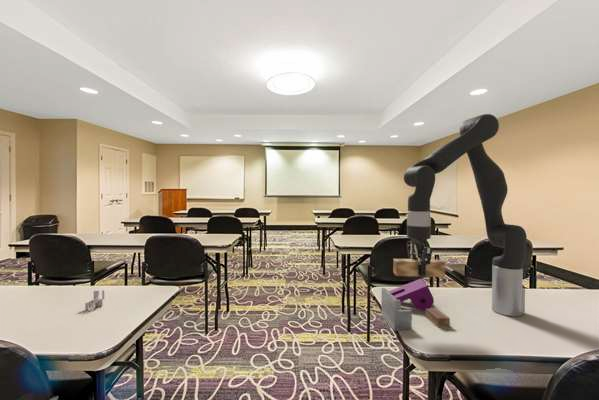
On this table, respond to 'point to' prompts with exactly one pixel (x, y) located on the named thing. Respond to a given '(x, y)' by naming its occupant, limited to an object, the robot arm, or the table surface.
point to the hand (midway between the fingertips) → (418, 273)
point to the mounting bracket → (415, 294)
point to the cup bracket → (395, 312)
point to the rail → (411, 268)
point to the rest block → (438, 317)
